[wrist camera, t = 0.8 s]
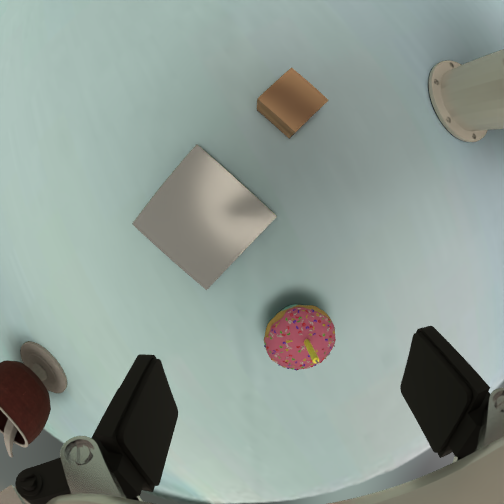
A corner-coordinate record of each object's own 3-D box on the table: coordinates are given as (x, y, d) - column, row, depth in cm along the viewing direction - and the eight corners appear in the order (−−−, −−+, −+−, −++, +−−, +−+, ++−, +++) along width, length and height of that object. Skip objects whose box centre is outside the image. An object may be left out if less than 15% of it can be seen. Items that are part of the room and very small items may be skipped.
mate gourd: (13, 328, 38) (-48, 382, 18) (62, 351, 38) (1, 423, 19) (30, 385, 42) (-13, 439, 23) (78, 407, 42) (38, 475, 23)
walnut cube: (286, 82, 28) (291, 67, 23) (317, 110, 29) (328, 100, 24) (256, 109, 29) (257, 98, 24) (288, 138, 30) (295, 132, 25)
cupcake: (270, 286, 35) (278, 339, 23) (334, 295, 35) (366, 347, 23) (257, 343, 37) (259, 406, 25) (317, 349, 37) (337, 410, 26)
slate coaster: (198, 145, 30) (196, 144, 29) (275, 215, 32) (276, 216, 31) (136, 222, 32) (132, 223, 31) (208, 286, 35) (206, 290, 33)
